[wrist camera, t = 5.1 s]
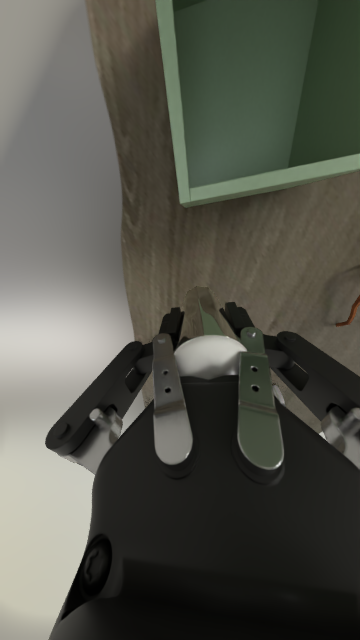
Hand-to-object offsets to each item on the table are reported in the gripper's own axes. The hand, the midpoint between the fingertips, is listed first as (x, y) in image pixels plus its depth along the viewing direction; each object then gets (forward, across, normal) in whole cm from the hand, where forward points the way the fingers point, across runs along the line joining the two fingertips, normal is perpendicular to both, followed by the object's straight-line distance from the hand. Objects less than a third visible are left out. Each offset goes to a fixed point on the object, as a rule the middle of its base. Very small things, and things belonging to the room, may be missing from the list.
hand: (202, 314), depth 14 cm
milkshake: (+3, 0, 0) cm, 3 cm away
